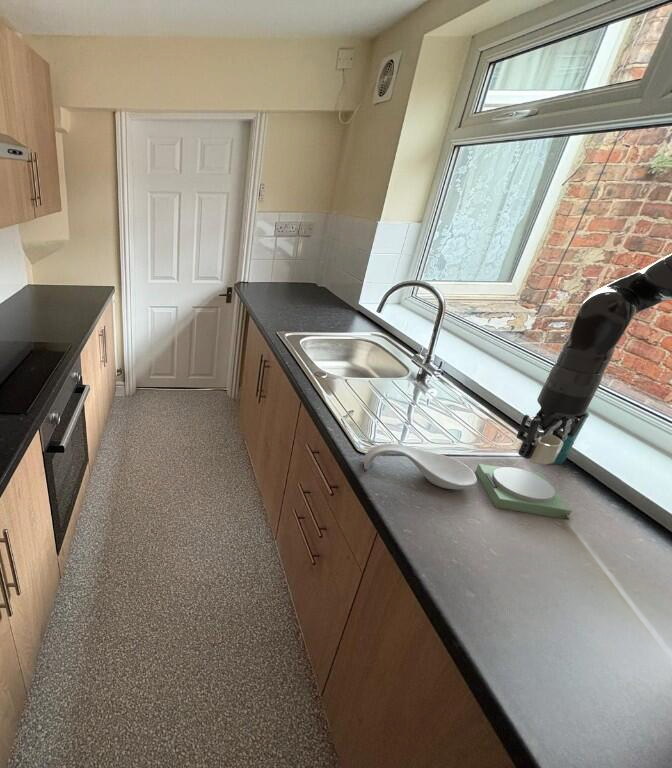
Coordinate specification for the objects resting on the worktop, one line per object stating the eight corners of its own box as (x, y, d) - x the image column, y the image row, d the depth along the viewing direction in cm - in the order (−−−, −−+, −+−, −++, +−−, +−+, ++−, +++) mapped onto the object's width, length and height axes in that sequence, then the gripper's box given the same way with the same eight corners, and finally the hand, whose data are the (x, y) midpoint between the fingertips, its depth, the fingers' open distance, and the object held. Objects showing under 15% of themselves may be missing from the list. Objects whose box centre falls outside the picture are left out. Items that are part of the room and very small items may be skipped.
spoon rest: (464, 471, 104) (474, 447, 100) (479, 502, 94) (489, 477, 91) (361, 453, 111) (367, 430, 108) (365, 480, 101) (371, 456, 98)
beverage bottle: (556, 457, 108) (592, 390, 99) (566, 472, 103) (604, 402, 94) (525, 451, 111) (557, 385, 102) (533, 466, 105) (567, 397, 96)
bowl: (544, 450, 93) (554, 432, 91) (559, 467, 88) (569, 448, 86) (512, 446, 95) (520, 427, 93) (524, 462, 90) (534, 443, 87)
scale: (537, 481, 100) (543, 469, 98) (566, 519, 89) (573, 507, 87) (475, 471, 104) (479, 460, 102) (495, 507, 92) (501, 495, 91)
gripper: (561, 400, 79) (527, 469, 86) (618, 391, 82) (580, 459, 89) (522, 382, 85) (493, 449, 93) (576, 375, 88) (544, 440, 96)
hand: (536, 454), depth 91 cm, fingers closed on bowl, 6 cm apart
